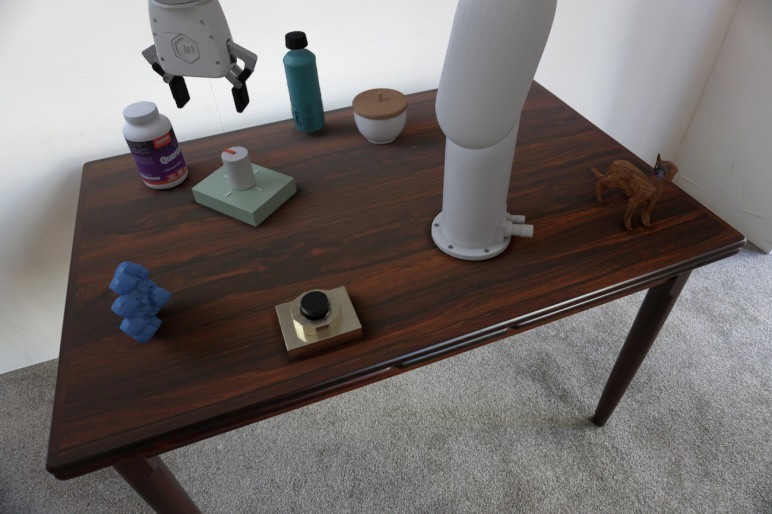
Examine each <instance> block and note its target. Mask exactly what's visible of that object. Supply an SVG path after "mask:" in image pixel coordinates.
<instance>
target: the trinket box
mask: <svg viewBox="0 0 772 514" xmlns="http://www.w3.org/2000/svg"><path fill="white" fill-rule="evenodd" d="M351 103H352V104H351V105H352V106H351V107H352V110H353V119H354V123H355V126H356V128H357V130H358V131H359V133H360V134H361V135H362V136H363V137H364V138H365V139H366V140H367V141H368V142H370V143H372V144H375V145H385V144H389V143H392V142H393V141H395V140H396V139H397V137H398V136H399V135H400V134H401V133H402V132H403V130H404V128H405V126H406V123H407V115H408V106H409V105H408V103H409V101H408V97H407V96H406V95H405V94H404V93H403V92H401V91H399V90H397V89H394V88H388V87H387V88H386V87H376V88H371V89H366V90H364V91H361V92H359V93H358V94H356V95H355V96H354V97H353V99H352V102H351Z"/></svg>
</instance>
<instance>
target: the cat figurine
mask: <svg viewBox="0 0 772 514" xmlns="http://www.w3.org/2000/svg"><path fill="white" fill-rule="evenodd" d="M590 171H591V172H593V174H594V176H596V177H597V178H598V179H599V180H597V181H596V182H595V190H596V197H597V201H598V202H600V203H603V202H604V200H603V198H602V197H603V196H602V195H603V190H609V189H611V188H618V189H619V190H623V191H624V192H625V195H626V196H627V197H628V198H629V199H628V207H627V209H626V211H625V214H624V217H623V224H624V227H625V229H626V230H627V231H633V229H634V228H633V227H632V225H631V223H632V222H631V221H632V220H631V219H632V215H633V214H634V212H635V211H636V209H637V206H638V204H645V206H644V207H643V210H642V213H641V218H640V219H641V223H642V224H643V226H644V227H645V228H646V227H647V228H649V227H650V228H651V226H652V224H651V222H650V214H651V211H652V210H653V208H654V207H655V205H656V203H657V200H658V199H660V198H661V193H663V192H664V185H667V184H669V183H671V182H672V181H673V179H674V178H675V176H676V175H677V173H678V172H679V168H678V166H677V165H676V164H675V163H673V162H672V161H671V160H663V159H662V157H661V153H657V156H656V162H655V165H654V166H653V169H652V176H653V178H655V180H656V183H657V184H656V187H655V186H654V185H653V184H652V182H651V181H650V179H649V178H648V176H647V175H646V174H645V172H643V171H642V170H641V169H640V168H639V167H637V166H636V165H634V164H633V163H632V162H631V161H629V160H626V159H625V160H624V159H617V160H614V161H612V163H611V164H610V165H609V168H608V170H607V171H606V173H605V174H602V173H601V172H600V171H599V170H598V169H597V168H596V167H595V166H591V167H590Z"/></svg>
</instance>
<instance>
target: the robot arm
mask: <svg viewBox="0 0 772 514" xmlns="http://www.w3.org/2000/svg"><path fill="white" fill-rule="evenodd" d="M557 6H558V0H458V2H457V5H456V9H455V13H454V16H453V21H452V25H451V30H450V35H449V38H448V43H447V48H446V53H445V56H444V60H443V65H442V70H441V75H440V78H439V83H438V89H437V93H436V97H435V106H434V107H435V108H434V109H435V115H436V120H437V123H438V125H439V128H440V129H441V131H442V133H443V134H444V136H445V149H444V150H445V151H444V153H445V154H444V171H443V187H442V189H443V190H442V207H441V208H442V209H441V211H440V212H439V213H437V215H436V216H435V218H434V219H433V221H432V223H431V237H432V240H433V242H434V244H435V245H436V246H437V248H439V249H440V250H441V251H442V252H443V253H445V254H446V255H449V256H451V257H453V258H456V259H460V260H465V261H485V260H488V259H492V258H494V257H496V256H498V255H500V254H501V253H503V252H504V251H505V250H507V248H508V246H509V245H510V242H511V239H512V236H518V237H520V238H521V237H522V238H530V239H531V238H533V235H534V224H527V223H526V224H525V222H526V215H521V214H515V215H514V214H511V213H510V212H508V211H507V209H508V208H507V207H508V204H507V201H508V193H509V188H510V181H511V175H512V168H513V162H514V157H515V151H516V145H517V140H518V134H519V126H520V122H521V116H522V115H521V114H522V110H523V108H524V106H525V103H526V100H527V97H528V95H529V92H530V89H531V87H532V84H533V81H534V79H535V75H536V73H537V71H538V68H539V65H540V63H541V60H542V57H543V54H544V51H545V49H546V46H547V43H548V40H549V36H550V34H551V31H552V27H553V24H554V20H555V17H556V11H557V8H558V7H557ZM147 11H148V19H149V25H150V31H151V36H152V38H153V43H152V44H150V45H148V46H147V47H145V48H144V49H143V50H142V51H141V56H142V57H143V58H144V59H145V61H147V63H148V64H149V65H151V69H152V71H154V72H155V73H156V74H157V75H158V76H160V77H161V78H162V81H163V82H164V83H165V84H167V85H168V87H169V90H170V93H171V96H172V99H173V100H174V102H175V105H176V108H177V109H180V110H181V109H183V108H184V107H185V106H186V105H187V104H188V103H189V102H190V101H191V95H190V93H189V90H188V86H187V83H186V79H185V77H186V78H187V77H188V78H201V79H202V78H205V79H222V78H225V79H226V80H227V81H228V82H229V83H230V84H231V85H232V87H231V91H230V92H231V94H232V99H233V103H234V107H235V111H236V113H237V114H243V112H244V111H245V110H246V108H247V107H248V105H249V104H250V95H249V90H248V86H247V81H248V80H249V79H250V77H251V76H252V75H253V74H254V72H255V68H256V65H257V62H258V59H259V58H258V55H257V54H256V53H255V52H253V51H252V50H249V49H248V48H245V47H243V46H242V45H240V44H238V43H237V42H234V39H233V35H232V32H231V29H230V26H229V23H228V20H227V18H226V15H225V12H224V9H223V8H222V5H221V2H220V1H219V0H147ZM238 59H239V60H240V61H242V62H243V63H244V65H243V69H242V67H240V65H238V64H237V63H238Z"/></svg>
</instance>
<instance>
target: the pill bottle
mask: <svg viewBox="0 0 772 514" xmlns="http://www.w3.org/2000/svg"><path fill="white" fill-rule="evenodd" d="M122 116H123V118H124V120H125V123H124V124H123V126H122V131H121V132H122V135H123V137H124V140H125V142H126V144H127V147H128V149H129V151H130V153H131V155H132V158H133V160H134V163H135V164H136V167H137V169H138V171H139V174H140V176H141V179H142V180H143V182H144V184H145V185H146V186H147V187H148V188H151V189H154V190H166V189H167V190H168V189H171V188H174V187H177V186H178V185H179V184H182V183H183V182H184V181H185V180H186V178H187V177H188V174H189V169H188V165H187V163H186V161H185V157H184V155H183V152H182V149H181V147H180V144H179V141H178V138H177V135H176V133H175V130H174V127H173V125H172V122H171V119H170V118H169V117H168V116H166V115H165V114H163V113H160V111H159V108H158V106H157V104H156V103H155V102H153V101H150V100H141V101H137V102H134V103H130V104H129V105H127V106H126V107H124V108H123V110H122Z"/></svg>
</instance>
